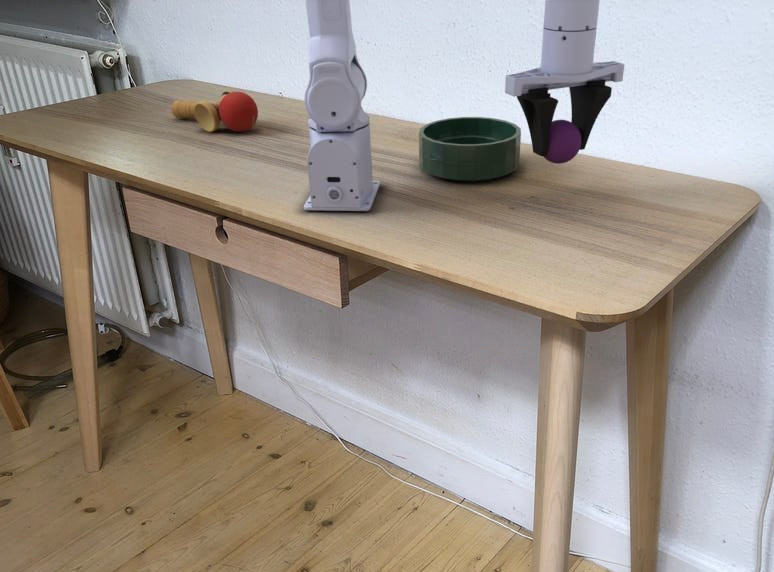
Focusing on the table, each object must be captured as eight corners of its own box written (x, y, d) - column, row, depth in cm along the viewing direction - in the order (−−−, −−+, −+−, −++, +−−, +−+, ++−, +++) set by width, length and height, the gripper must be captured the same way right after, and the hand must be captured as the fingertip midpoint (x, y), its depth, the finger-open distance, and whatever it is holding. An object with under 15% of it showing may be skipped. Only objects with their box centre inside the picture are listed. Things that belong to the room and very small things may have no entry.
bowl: (519, 185, 95) (521, 145, 93) (415, 184, 97) (414, 145, 94) (518, 152, 106) (520, 116, 104) (424, 152, 108) (423, 116, 105)
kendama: (160, 132, 125) (233, 133, 115) (155, 92, 123) (228, 88, 113) (198, 130, 131) (270, 130, 120) (194, 91, 129) (267, 88, 118)
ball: (580, 169, 88) (585, 126, 86) (537, 169, 89) (540, 126, 86) (577, 156, 93) (581, 114, 90) (536, 155, 93) (539, 114, 90)
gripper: (602, 16, 88) (590, 133, 95) (493, 28, 83) (489, 150, 91) (642, 24, 83) (625, 148, 90) (527, 38, 78) (519, 167, 85)
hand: (559, 150), depth 90 cm, fingers closed on ball, 5 cm apart
